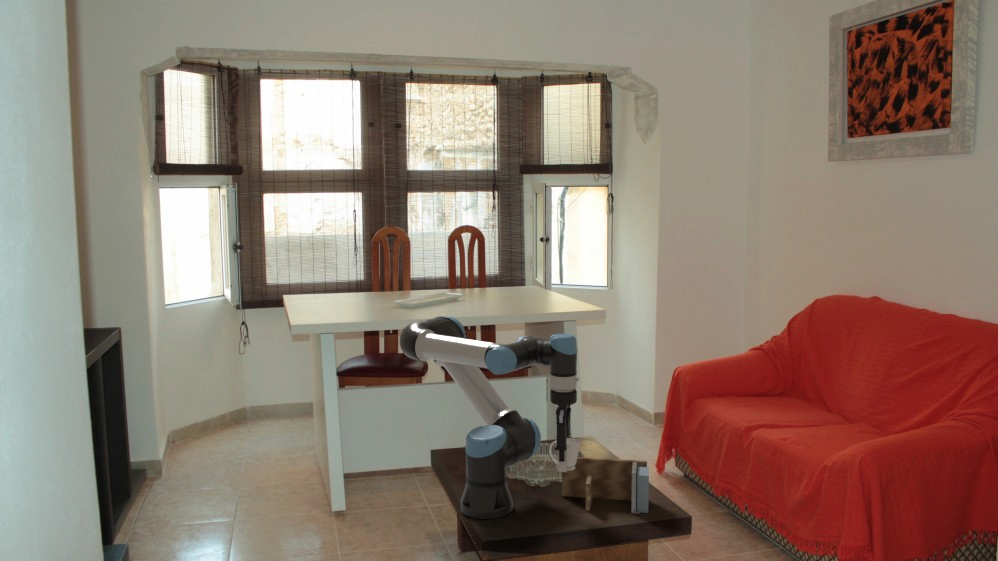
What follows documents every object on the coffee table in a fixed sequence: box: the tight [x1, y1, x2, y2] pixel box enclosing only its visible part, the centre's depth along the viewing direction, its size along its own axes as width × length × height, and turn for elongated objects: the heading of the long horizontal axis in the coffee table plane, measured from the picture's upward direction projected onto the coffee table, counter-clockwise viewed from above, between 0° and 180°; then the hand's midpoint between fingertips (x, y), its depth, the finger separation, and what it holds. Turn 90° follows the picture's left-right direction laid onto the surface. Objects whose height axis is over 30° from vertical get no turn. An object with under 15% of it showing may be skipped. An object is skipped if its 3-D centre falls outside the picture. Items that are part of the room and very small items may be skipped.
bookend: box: [630, 462, 641, 515], centre depth 239 cm, size 2×9×12 cm, turn 169°
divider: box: [585, 474, 593, 511], centre depth 241 cm, size 1×8×8 cm, turn 169°
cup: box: [548, 437, 581, 470], centre depth 237 cm, size 7×10×8 cm
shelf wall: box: [561, 456, 648, 501], centre depth 246 cm, size 25×1×12 cm, turn 79°
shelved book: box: [637, 466, 650, 514], centre depth 239 cm, size 3×7×11 cm, turn 169°
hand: (563, 466), depth 237 cm, fingers closed on cup, 6 cm apart
